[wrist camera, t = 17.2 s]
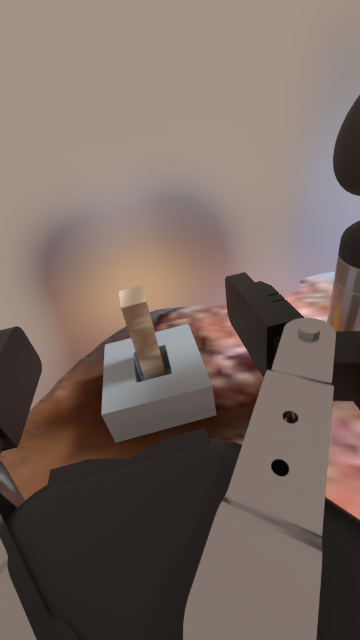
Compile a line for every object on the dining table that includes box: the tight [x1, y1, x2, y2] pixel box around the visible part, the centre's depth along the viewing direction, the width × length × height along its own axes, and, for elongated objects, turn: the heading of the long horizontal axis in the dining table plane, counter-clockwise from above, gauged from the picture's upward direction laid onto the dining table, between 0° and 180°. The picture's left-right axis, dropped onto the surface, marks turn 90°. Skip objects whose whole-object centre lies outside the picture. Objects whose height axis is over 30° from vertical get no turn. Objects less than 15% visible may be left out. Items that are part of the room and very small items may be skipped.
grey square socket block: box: [101, 324, 216, 443], centre depth 42 cm, size 14×14×6 cm
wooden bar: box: [119, 286, 166, 380], centre depth 39 cm, size 3×4×16 cm
